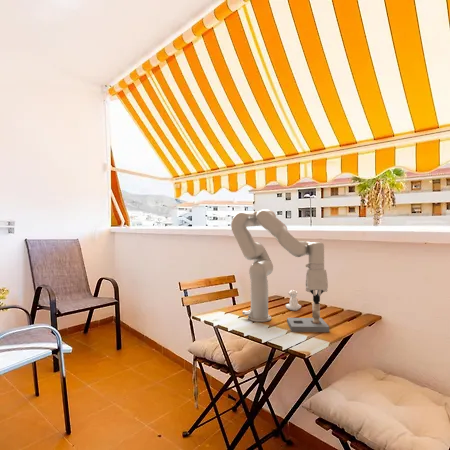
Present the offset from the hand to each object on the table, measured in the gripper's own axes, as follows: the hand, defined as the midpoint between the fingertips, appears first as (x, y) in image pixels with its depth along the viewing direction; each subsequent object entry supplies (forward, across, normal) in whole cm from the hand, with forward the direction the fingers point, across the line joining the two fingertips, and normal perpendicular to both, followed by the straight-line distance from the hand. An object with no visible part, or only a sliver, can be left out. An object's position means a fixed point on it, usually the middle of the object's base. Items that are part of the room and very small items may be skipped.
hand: (316, 303), depth 161 cm
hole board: (+12, -5, 0) cm, 13 cm away
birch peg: (+12, 0, 0) cm, 12 cm away
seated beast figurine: (+12, -6, +32) cm, 35 cm away
